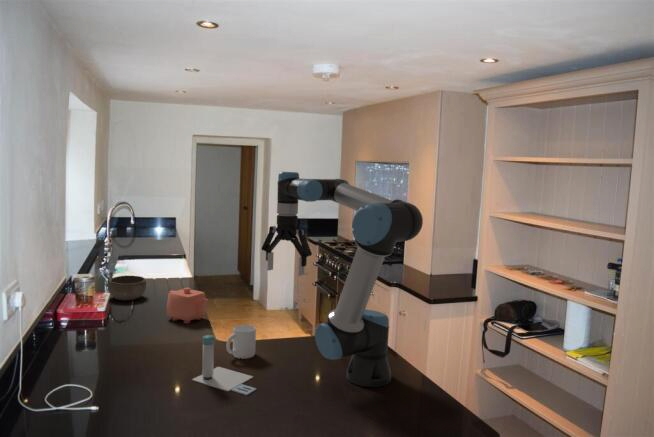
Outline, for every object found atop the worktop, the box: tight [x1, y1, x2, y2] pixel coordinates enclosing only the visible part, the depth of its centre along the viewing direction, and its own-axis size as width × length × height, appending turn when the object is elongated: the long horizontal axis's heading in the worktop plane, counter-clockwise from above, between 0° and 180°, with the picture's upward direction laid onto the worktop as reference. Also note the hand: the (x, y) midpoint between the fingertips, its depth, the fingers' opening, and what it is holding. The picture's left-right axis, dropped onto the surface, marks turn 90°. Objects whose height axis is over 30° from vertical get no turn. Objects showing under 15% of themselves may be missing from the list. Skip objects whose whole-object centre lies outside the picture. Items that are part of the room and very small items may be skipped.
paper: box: [191, 366, 254, 392], centre depth 174 cm, size 15×13×1 cm
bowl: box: [108, 275, 147, 302], centre depth 265 cm, size 17×18×10 cm
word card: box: [230, 383, 257, 396], centre depth 166 cm, size 6×5×1 cm
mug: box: [225, 324, 257, 360], centre depth 194 cm, size 12×8×10 cm
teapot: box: [166, 287, 209, 325], centre depth 235 cm, size 22×13×14 cm, turn 61°
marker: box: [201, 334, 216, 380], centre depth 173 cm, size 4×4×14 cm
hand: (285, 272), depth 193 cm, fingers open, 13 cm apart
